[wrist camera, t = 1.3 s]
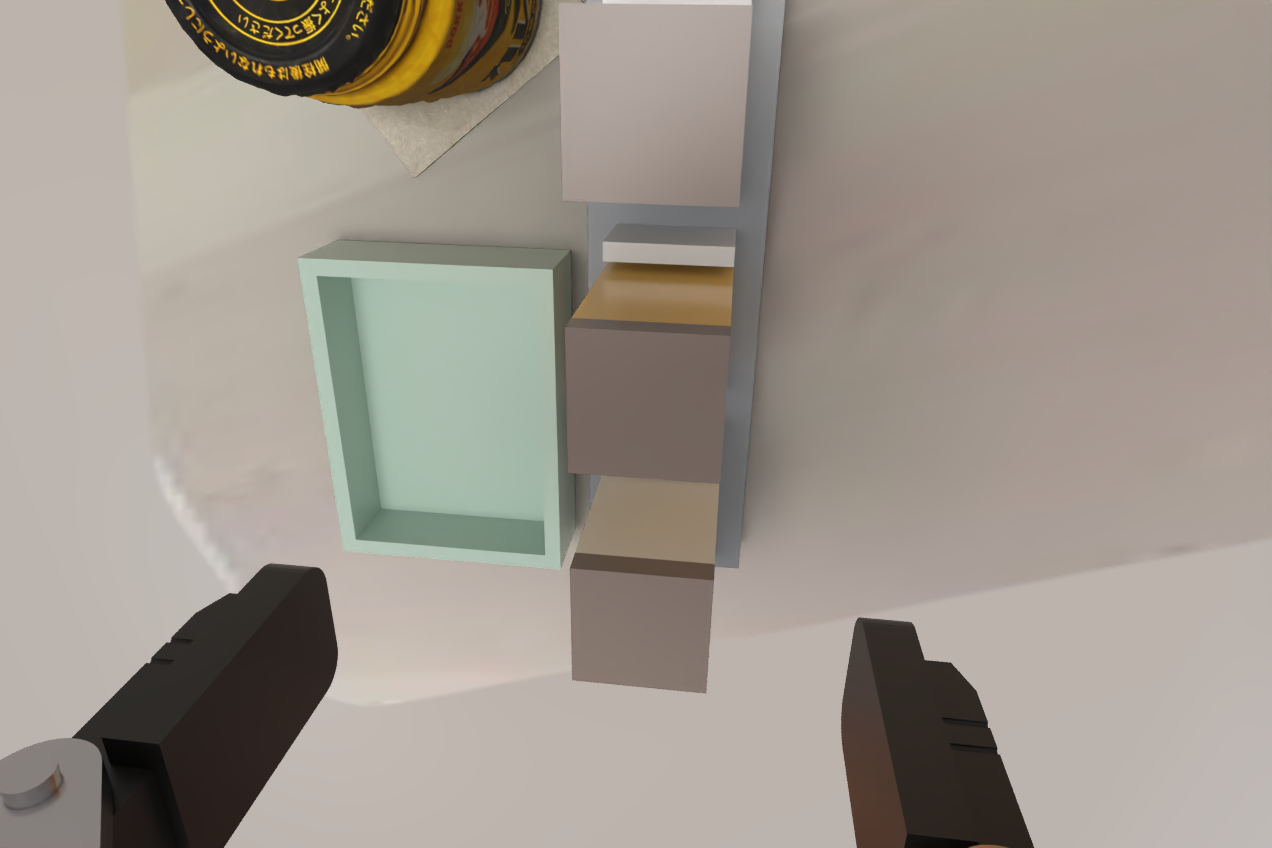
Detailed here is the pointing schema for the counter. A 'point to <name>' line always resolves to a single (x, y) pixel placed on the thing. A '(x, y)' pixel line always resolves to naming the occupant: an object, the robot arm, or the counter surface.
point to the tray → (445, 398)
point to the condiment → (384, 57)
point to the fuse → (650, 372)
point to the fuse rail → (681, 235)
